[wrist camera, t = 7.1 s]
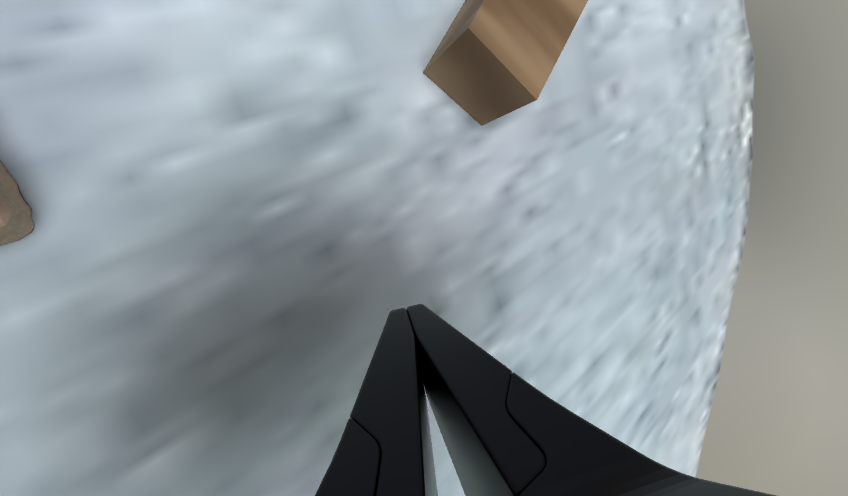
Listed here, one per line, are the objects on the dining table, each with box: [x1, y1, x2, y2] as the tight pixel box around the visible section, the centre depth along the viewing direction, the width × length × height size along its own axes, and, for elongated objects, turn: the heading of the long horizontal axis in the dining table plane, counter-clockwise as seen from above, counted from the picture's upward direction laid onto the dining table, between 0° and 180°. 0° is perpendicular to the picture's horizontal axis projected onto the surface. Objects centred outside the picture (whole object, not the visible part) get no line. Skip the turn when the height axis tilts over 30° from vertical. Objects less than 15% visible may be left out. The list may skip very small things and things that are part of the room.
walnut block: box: [423, 0, 588, 125], centre depth 19 cm, size 5×5×12 cm
